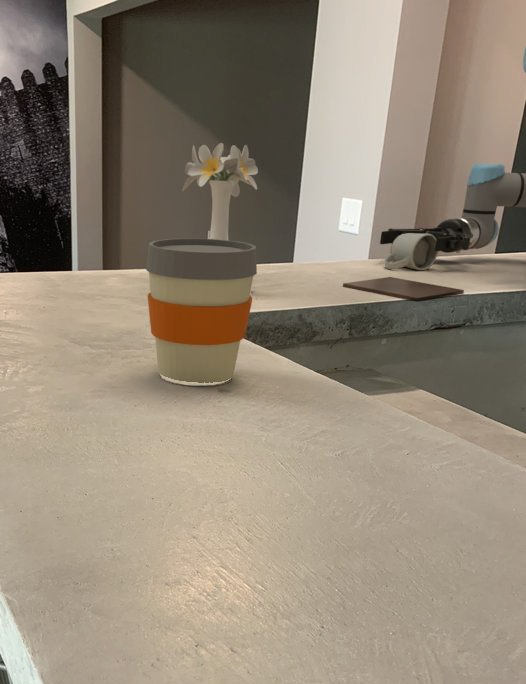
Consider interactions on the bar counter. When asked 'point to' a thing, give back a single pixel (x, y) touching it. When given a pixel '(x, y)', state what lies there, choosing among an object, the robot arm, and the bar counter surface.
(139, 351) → the bar counter surface
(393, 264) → the ceramic mug
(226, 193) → the flower vase
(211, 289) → the reusable coffee cup
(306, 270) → the bar counter surface
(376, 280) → the placemat
